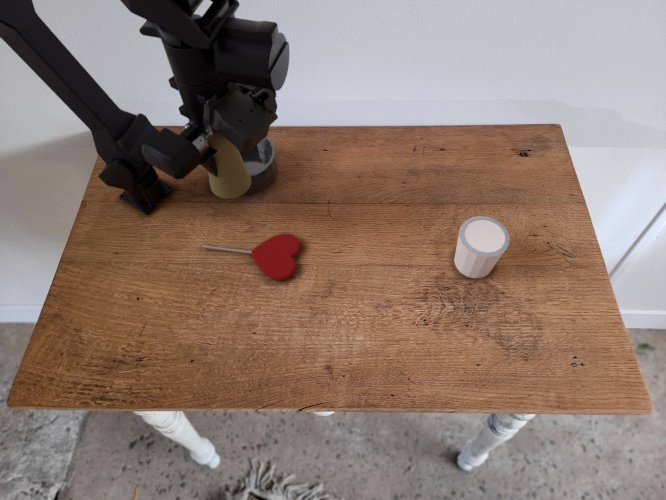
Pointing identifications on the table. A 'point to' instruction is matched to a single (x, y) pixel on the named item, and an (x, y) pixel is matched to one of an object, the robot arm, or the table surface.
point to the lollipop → (274, 255)
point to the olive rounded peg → (228, 169)
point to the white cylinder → (480, 246)
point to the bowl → (261, 164)
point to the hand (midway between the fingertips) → (226, 165)
